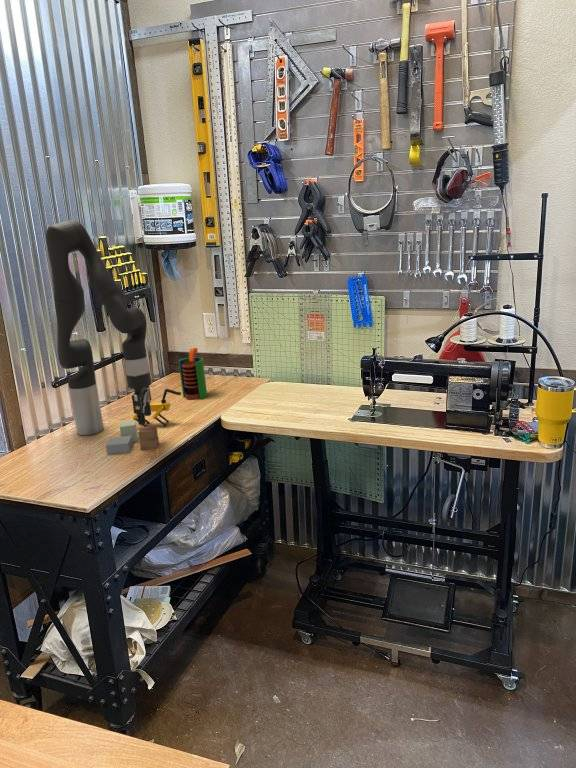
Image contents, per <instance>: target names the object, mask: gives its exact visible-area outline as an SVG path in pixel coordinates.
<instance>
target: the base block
mask: <svg viewBox="0 0 576 768" xmlns="http://www.w3.org/2000/svg"><path fill="white" fill-rule="evenodd" d="M133 445H134V442H133V441H132V435H131V436H112V437H110V436H109V439H108V441H107V442H106V444H105V449H106V450H105V451H106V454H109V455H116V453H120V454H125V453H124V452H129V451H130V452H131V450H132V448H133ZM131 447H132V448H131ZM130 449H131V450H130ZM130 452H129V453H130Z"/></svg>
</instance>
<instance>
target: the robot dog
mask: <svg viewBox="0 0 576 768" xmlns="http://www.w3.org/2000/svg"><path fill="white" fill-rule="evenodd" d="M167 393H170V394H173V395H177V396H182V392H181V391H175V390H172V389H169V388H165V389H164V392H163V396H162V399H161V401H154V402H153V401H151V403H150V408H151V413H152V412H153V413H154V412H155V413H154V414H153V416H152V419H154V420H156V421H158V422H159V423H160V424H161V425H162V426H163V427H167V426H168V425H167V424H168V423H170V420H169V419H168V418H166V417H164V416H163V415H162V414H161V413H162V412H168V411H169V410H170V408H171V401H167V400H166V397H167ZM138 409H140V407H138ZM158 417H160V418H161V419H163V421H165V422H166V423H164V422H163V421H162V420H161V419H160V418H158ZM133 420H136V423H137V422H138V418H137V414H134V416H133V417H132V421H133ZM145 421H146V424H148V425H149V424H150V421H149V420H147V419H146V418H145ZM146 424H144V425H141V427H148V425H146Z"/></svg>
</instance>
